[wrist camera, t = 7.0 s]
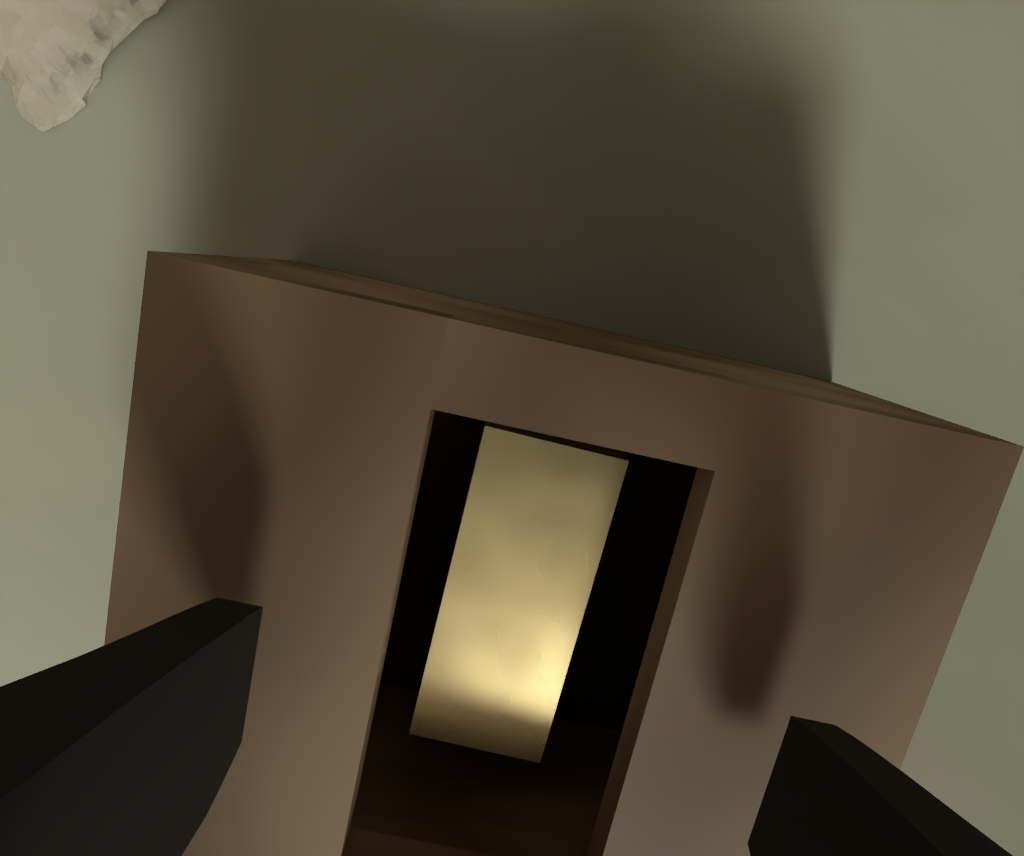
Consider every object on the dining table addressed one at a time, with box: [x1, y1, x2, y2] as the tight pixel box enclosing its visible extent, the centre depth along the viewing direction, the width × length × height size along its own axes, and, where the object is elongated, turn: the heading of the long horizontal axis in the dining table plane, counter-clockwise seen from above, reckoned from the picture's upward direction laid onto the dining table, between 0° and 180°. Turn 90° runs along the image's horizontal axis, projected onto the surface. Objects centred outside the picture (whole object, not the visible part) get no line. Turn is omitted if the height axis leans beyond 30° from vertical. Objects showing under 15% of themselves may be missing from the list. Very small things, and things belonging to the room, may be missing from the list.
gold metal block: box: [409, 421, 629, 763], centre depth 14 cm, size 2×6×4 cm, turn 166°
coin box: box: [104, 251, 1024, 856], centre depth 13 cm, size 12×10×6 cm
